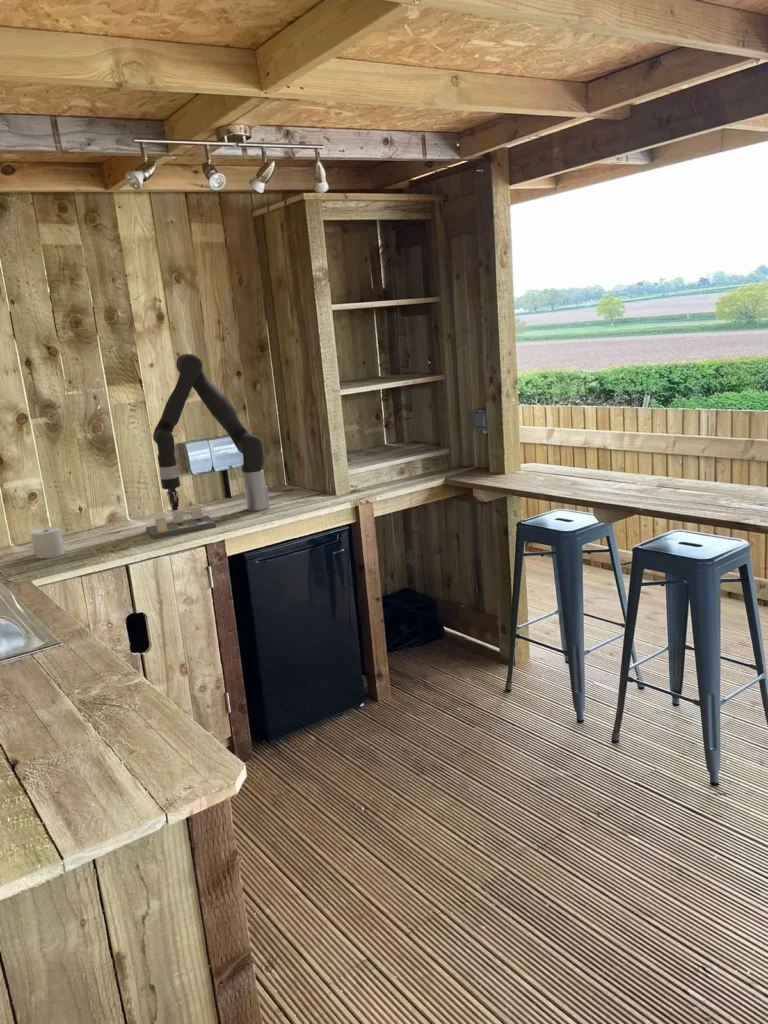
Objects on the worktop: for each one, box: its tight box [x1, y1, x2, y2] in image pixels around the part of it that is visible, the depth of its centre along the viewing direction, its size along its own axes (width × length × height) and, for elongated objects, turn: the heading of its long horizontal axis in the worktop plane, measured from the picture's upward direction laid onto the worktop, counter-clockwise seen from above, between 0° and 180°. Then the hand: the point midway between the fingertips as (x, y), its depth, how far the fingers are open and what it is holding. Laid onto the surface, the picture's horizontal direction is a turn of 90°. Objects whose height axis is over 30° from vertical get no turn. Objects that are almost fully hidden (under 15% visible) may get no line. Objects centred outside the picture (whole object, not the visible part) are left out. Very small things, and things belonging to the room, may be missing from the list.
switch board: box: [145, 515, 217, 540], centre depth 323 cm, size 26×14×2 cm, turn 115°
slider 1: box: [154, 515, 167, 531], centre depth 316 cm, size 4×3×5 cm
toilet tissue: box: [30, 525, 66, 560], centre depth 303 cm, size 11×12×10 cm
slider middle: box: [171, 508, 184, 524], centre depth 325 cm, size 4×3×5 cm
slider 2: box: [190, 504, 203, 520], centre depth 329 cm, size 4×3×5 cm
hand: (176, 516), depth 329 cm, fingers closed
